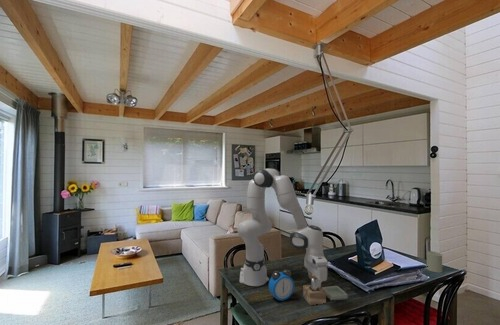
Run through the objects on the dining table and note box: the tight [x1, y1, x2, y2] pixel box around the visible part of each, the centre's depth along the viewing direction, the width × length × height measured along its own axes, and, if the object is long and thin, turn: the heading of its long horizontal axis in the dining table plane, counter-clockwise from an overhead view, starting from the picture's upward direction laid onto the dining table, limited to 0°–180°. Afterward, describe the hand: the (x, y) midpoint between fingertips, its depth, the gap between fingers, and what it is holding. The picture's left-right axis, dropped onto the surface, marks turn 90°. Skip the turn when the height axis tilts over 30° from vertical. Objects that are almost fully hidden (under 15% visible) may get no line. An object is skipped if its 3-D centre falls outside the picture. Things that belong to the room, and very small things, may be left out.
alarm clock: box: [268, 269, 295, 302], centre depth 137 cm, size 13×6×15 cm, turn 113°
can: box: [425, 250, 443, 274], centre depth 177 cm, size 9×9×12 cm
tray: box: [321, 285, 349, 302], centre depth 141 cm, size 10×10×2 cm
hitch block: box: [302, 284, 327, 306], centre depth 135 cm, size 9×9×6 cm
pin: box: [310, 273, 318, 291], centre depth 135 cm, size 3×3×14 cm
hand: (314, 282), depth 135 cm, fingers open, 8 cm apart
